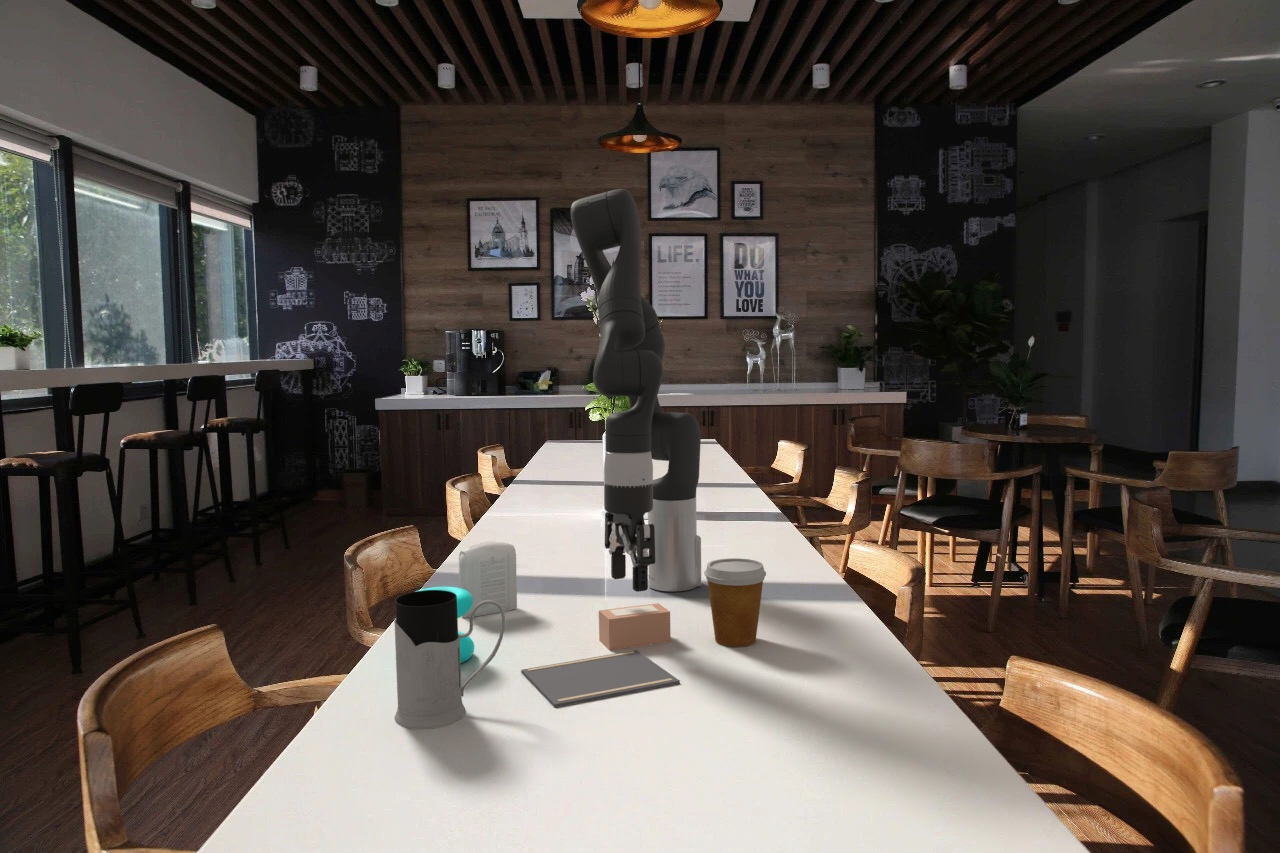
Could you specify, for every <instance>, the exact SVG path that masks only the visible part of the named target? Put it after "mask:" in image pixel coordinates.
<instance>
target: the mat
mask: <svg viewBox="0 0 1280 853" xmlns="http://www.w3.org/2000/svg"><path fill="white" fill-rule="evenodd" d="M520 672H521V674H522V675H523V676H524V677H525V678H526V679H527V681H529V682H530V684H531V685H533V686H534V687H535V689H536V690H537V691H538V692H539V693H540V694H541V695H542V696H543V697H544V698H545V699H546V700H547V701H548V703H550V704H551V705H552V706H553V708H558V707H564V706H568V705H569V706H571V705H575V704H579V703H585V702H590V701H595V700H600V699H601V700H602V699H605V698H611V697H614V696H621V695H626V694H632V693H638V692H641V691H648V690H653V689H658V687H659V688H664V687H667V686H674V685H678V684H680V682H681V680H680V679H678V678H677V677H675V676H674V675H672V674H671V673H670V672H668V671H667V670H665V669H664V668H663V667H661V666H660V665H658V664H657V663H655V662H654V661H653V660H652V659H650V658H649V657H647V656H646V655H645V654H643V653H642V652H640V651H639V650H637V649H635V650H628V651H623V652H617V653H612V654H605V655H600V656H594V657H593V656H592V657H588V658H580V659H575V660H571V661H565V662H560V663H559V662H558V663H553V664H547V665H541V666H540V665H539V666H535V667H529V668H524V669H521V670H520ZM637 691H638V692H637Z"/></svg>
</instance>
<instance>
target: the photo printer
mask: <svg viewBox="0 0 1280 853" xmlns="http://www.w3.org/2000/svg"><path fill="white" fill-rule="evenodd" d="M516 552H517V551H516V549H515V546H514V544H512V543H509V542H505V541H497V540H495V541H493V540H492V541H483V542H478V543H475V544H472V545H470V546H468V547H466V548H463V549H461V550H460V552H459V555H458V556H459V557H458V575H459V576H458V577H459V579H458V580H459V584H458V586H459V587H458V588H462V589H464V590H466V591H468V592H469V593H470V594H471V596H472V599H473V604H472V607H471V609H470V610H469V611H468V612H467V613H466V614H465V615H463V616H462V617H463V618H465V619H467V618H470V615H471V612H472V610H473V608H474V607H475V606H476V605H477V604H478V603H479V602H482V601H484V600H491V601H495V602H497V603H498V604H500V605H501V607H502V609H503V610H504V612H507V611H512V610H513V609H514V610H516V609H517V606H518V594H517V592H518V590H517V587H518V586H517V584H518V583H517V553H516ZM514 610H513V611H514ZM496 613H501V611H500V609H499V607H498V606H496V605H495V604H491V603H486V604H483V605H481V606H480V607H479V608H478V609H477V611H476V612H475V615H474V617H480V616H484V615H490V614H496Z"/></svg>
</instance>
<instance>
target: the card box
mask: <svg viewBox="0 0 1280 853" xmlns="http://www.w3.org/2000/svg"><path fill="white" fill-rule="evenodd" d="M598 637H599V638H598V640H599V642H600V643H601V644H602V645H603V646H604V647H605V648H606V649H607V650H608V651H615V650H623V648H624V649H629V647H631V648H637V646H638V647H644V645H645V646H651V645H650V644H653V645H658V643H660V644H665V643H664V642H667V643H671V639H672V638H671V611H670V610H669V609H667V608H666V607H664V606H663V605H662V604H660V603H659V602H658V603H657V602H656V603H650V604H641V605H633V606H625V607H616V608H609V609H608V608H607V609H600V610H598Z"/></svg>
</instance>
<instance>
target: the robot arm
mask: <svg viewBox="0 0 1280 853" xmlns="http://www.w3.org/2000/svg"><path fill="white" fill-rule="evenodd" d="M570 206H571V207H570V217H571V218H570V219H571V223H572V227H573V231H574V234H575V236H576V238H577V242H578V245H579V248H580V250H581V253H582V255H583V258H584V261H585V263H586V265H587V268H588V271H589V274H590V277H591V279H592V282H593V284H594V287H595V290H596V294H597V296H598V297H597V312H598V314H597V315H598V323H599V332H600V336H599V337H600V338H599V346H598V351H597V356H596V358H595V363H594V367H593V373H592V379H593V380H592V381H593V383H594V384H593V385H594V387H595V388H596V390H597V391H598V393H600V395H603V396H604V397H611V398H612V397H627V398H628V403H629V409H626V410H622V411H617V412H613V413H611V414H609V415H608V416H606V418H605V425H604V426H605V454H604V455H605V457H604V462H603V464H604V466H603V497H604V498H603V503H604V504H603V506H604V510H605V514H604V548H605V549H608V553H609V555H610V560H611V564H610V567H611V570H610V573H611V575H610V577H611V578H612V579H614V580H621V579H625V578H626V576H627V572H626V568H627V567H626V565H627V563H626V558H627V557H626V554H627V555H629V557H630V560H631V563H632V590H633V591H635V592H636V593H639V592H645V591H648V588H651V589H653V590H656V591H662V592H683V591H689V590H693V589H695V588H697V587H701V586H702V537H701V536H700V535H698V534H697V532H698V531H697V525H698V524H697V488H698V483H699V480H700V464H701V463H700V462H701V461H700V460H701V445H702V443H701V439H702V438H701V429H700V424H699V421H698V420H697V418H696V417H695V416H694V415H692V414H691V413H688V412H679V411H677V412H672V411H663V409H662V408H661V404H660V402H659V397H658V395H659V391H660V388H661V384H662V381H663V376H664V366H663V359H664V356H665V350H666V344H665V339H664V335H663V331H662V328H661V325H660V324H661V323H660V321H659V318H658V314H657V312H656V310H655V308H654V307H653V306H652V305H651V304H650V302H648V301H647V299H645V297H644V296H642V295H641V264H642V262H641V260H642V258H641V257H642V256H641V255H642V254H641V253H642V229H641V219H640V215H639V211H638V207H637V204H636V201H635V199H634V196H633V195H632V193H631V192H630V191H629V190H628V189H626V188H616V189H613V190H609V191H604V192H601V193H598V194H594V195H590V196H586V197H583V198H579V199H577V200H575V201H573V203H572V204H571V205H570ZM617 247H619V249H618V252H617V256H616V258H615V260H614V262H613V264H612V265H611V263H610V262H609V260H608V259H607V257H606V254H605V253H604V251H606V250H609V249H614V248H617ZM653 460H655V461H663V462H664V461H665V462H668V466H667V472H666V474H664V475H663V476H661V477H658V478H655V479H654V465H653V464H654V463H653ZM646 513H647V524H646V523H645V517H644V516H645V515H646Z"/></svg>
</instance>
